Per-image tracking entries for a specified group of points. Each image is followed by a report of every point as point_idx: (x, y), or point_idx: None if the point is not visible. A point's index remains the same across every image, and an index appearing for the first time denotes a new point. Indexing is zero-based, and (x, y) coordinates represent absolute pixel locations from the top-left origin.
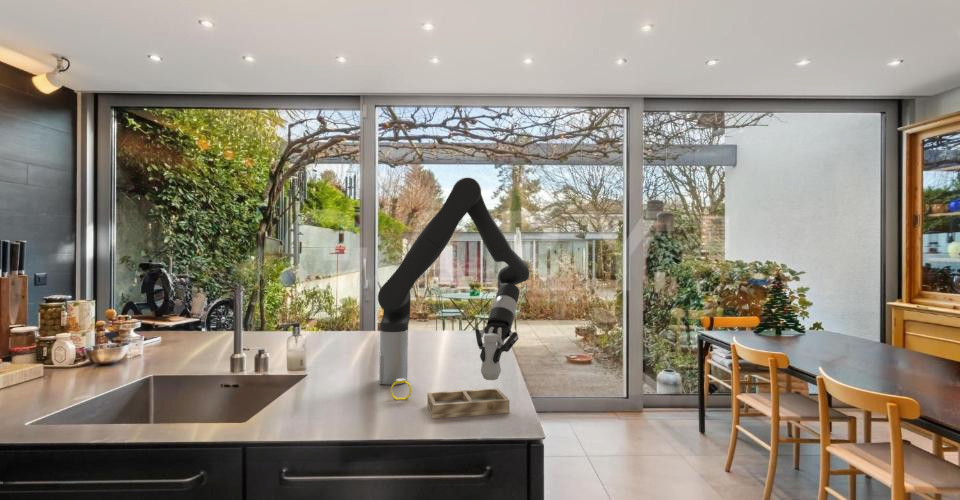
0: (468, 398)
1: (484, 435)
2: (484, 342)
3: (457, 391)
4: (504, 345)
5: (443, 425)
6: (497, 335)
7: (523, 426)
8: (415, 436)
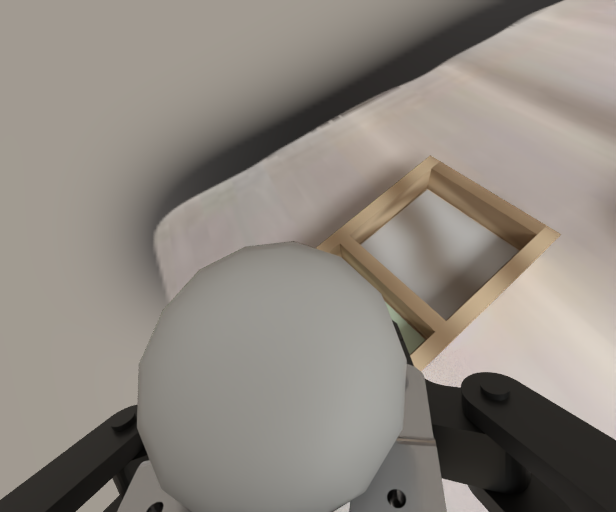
0: (370, 259)
1: (256, 174)
2: (421, 414)
3: (466, 310)
4: (132, 416)
5: (369, 167)
6: (140, 381)
7: (184, 258)
8: (384, 104)
